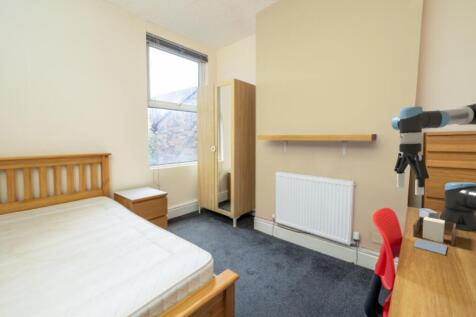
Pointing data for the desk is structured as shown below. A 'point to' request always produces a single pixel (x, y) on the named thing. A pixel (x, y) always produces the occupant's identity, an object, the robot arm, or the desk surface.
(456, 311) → the desk surface
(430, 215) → the medicine box
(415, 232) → the crate
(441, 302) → the desk surface
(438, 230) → the cream block
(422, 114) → the robot arm
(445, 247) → the felt pad
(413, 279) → the desk surface
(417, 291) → the desk surface
